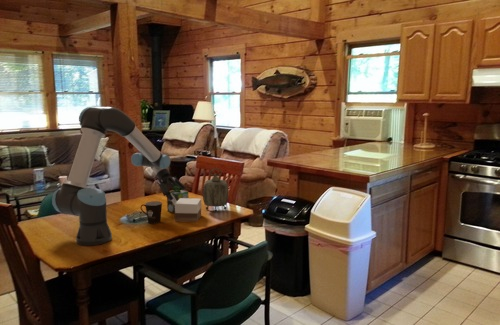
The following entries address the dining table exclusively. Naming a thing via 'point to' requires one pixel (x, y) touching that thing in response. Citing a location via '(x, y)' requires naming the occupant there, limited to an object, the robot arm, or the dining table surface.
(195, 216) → the grey square block
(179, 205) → the cream block
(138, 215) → the dining table surface
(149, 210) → the coffee mug
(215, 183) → the olive tall rounded piece
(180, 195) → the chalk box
